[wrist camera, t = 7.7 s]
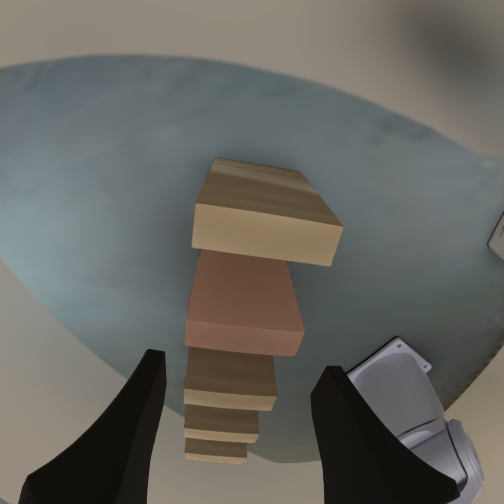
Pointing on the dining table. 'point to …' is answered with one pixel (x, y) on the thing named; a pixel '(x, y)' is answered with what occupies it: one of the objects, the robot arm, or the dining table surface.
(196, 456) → the domino
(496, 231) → the skincare box
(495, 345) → the dining table surface
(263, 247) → the domino
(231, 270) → the domino
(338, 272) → the dining table surface
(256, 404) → the domino
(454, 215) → the dining table surface
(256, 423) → the domino
